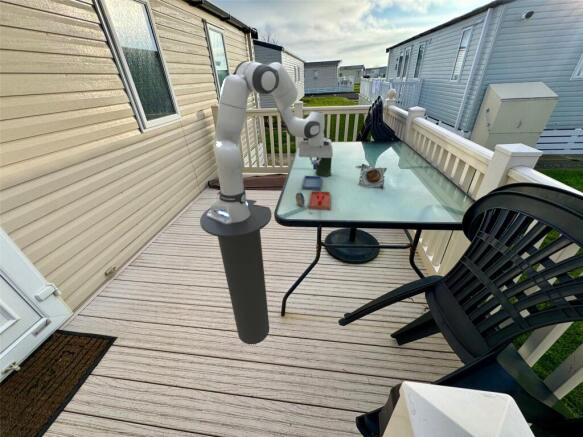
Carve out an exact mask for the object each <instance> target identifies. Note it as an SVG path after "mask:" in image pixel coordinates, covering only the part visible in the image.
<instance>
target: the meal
mask: <svg viewBox="0 0 583 437" xmlns="http://www.w3.org/2000/svg"><path fill="white" fill-rule="evenodd" d="M387 170H388V168H387V167H381V166H380V167H373V166H371V165H368V164H364V163H361V166H360V173H359V181H358V185H360V186H363V187H366V188H380V189H384V184H385V181H386V180H385V178H386V176H385V173H386V171H387Z"/></svg>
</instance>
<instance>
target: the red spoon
mask: <svg viewBox="0 0 583 437" xmlns="http://www.w3.org/2000/svg"><path fill="white" fill-rule="evenodd" d="M317 198H318V205H319V206H321V204H322V199H323V198H324V194H322V193H318V194H317Z"/></svg>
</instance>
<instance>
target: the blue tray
mask: <svg viewBox="0 0 583 437" xmlns="http://www.w3.org/2000/svg"><path fill="white" fill-rule="evenodd" d="M321 184H322V176H318V175H304V176H303V181H302V185H301V186H302V187H301V189H302V190H308V191H321V186H322V185H321Z"/></svg>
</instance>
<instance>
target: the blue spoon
mask: <svg viewBox="0 0 583 437" xmlns="http://www.w3.org/2000/svg"><path fill="white" fill-rule="evenodd" d="M312 161H314V163H313V164H312V169H313V170H314V171H316V167H317V161H318V160H316V159H312Z"/></svg>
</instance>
